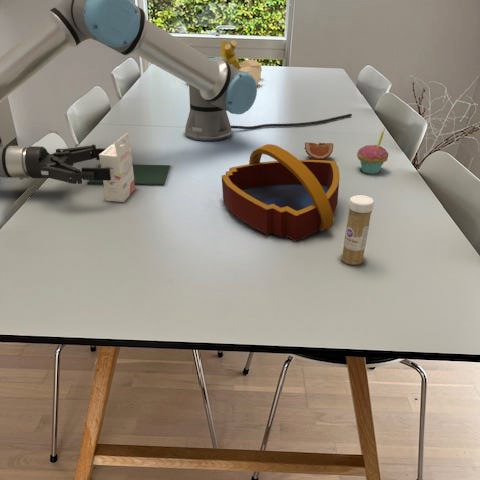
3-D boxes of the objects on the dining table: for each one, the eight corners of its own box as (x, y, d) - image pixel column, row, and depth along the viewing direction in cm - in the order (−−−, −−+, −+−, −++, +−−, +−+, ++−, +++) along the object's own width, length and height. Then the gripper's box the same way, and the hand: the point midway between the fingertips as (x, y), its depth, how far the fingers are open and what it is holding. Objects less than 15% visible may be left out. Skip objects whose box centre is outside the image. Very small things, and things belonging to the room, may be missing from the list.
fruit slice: (303, 162, 158) (304, 145, 155) (303, 154, 163) (305, 138, 160) (331, 163, 157) (333, 146, 154) (331, 156, 162) (333, 139, 160)
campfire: (262, 92, 226) (264, 47, 216) (182, 90, 226) (180, 45, 216) (260, 74, 255) (262, 34, 245) (189, 73, 255) (188, 32, 245)
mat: (170, 166, 153) (169, 165, 153) (163, 185, 142) (163, 183, 141) (100, 165, 153) (99, 163, 153) (88, 184, 142) (87, 182, 141)
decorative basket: (207, 198, 140) (197, 143, 131) (305, 168, 147) (302, 113, 138) (262, 260, 116) (255, 197, 106) (377, 220, 123) (380, 157, 113)
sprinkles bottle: (337, 260, 110) (345, 199, 103) (348, 252, 113) (357, 192, 105) (356, 268, 108) (366, 205, 100) (367, 259, 111) (378, 198, 103)
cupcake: (386, 167, 155) (394, 125, 148) (383, 178, 148) (391, 134, 141) (357, 164, 157) (363, 122, 150) (352, 173, 151) (358, 130, 144)
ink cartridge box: (117, 188, 140) (110, 130, 131) (135, 189, 139) (129, 132, 130) (104, 201, 133) (96, 141, 124) (123, 203, 132) (116, 143, 124)
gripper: (48, 159, 144) (127, 161, 144) (14, 197, 124) (106, 199, 123) (42, 131, 139) (124, 133, 139) (7, 165, 119) (102, 167, 119)
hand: (116, 164), depth 131 cm, fingers open, 13 cm apart
